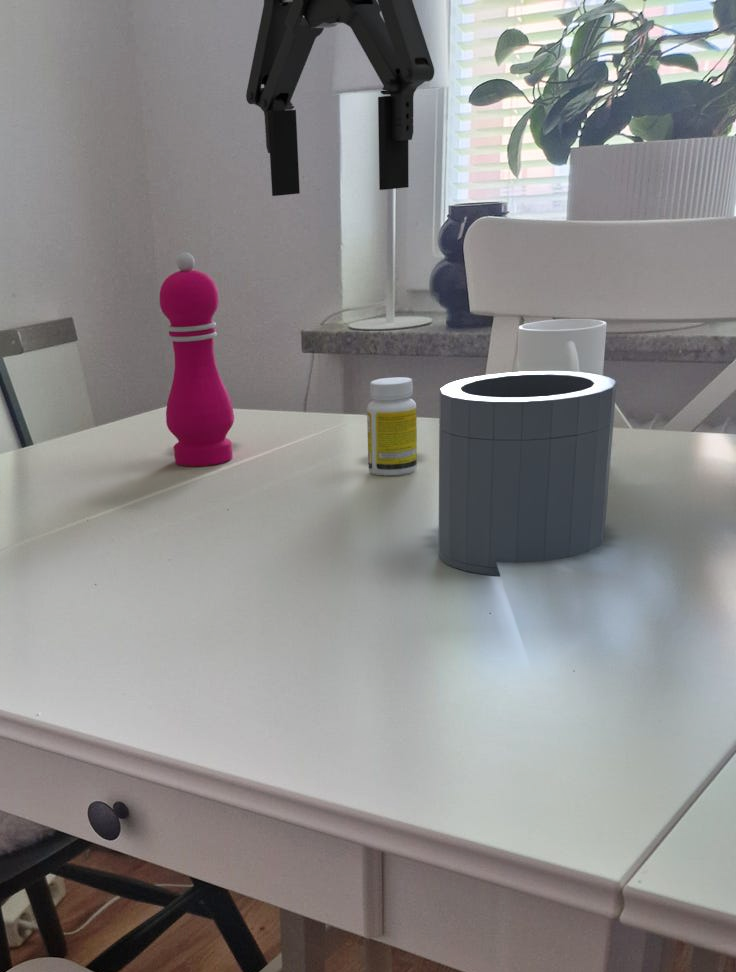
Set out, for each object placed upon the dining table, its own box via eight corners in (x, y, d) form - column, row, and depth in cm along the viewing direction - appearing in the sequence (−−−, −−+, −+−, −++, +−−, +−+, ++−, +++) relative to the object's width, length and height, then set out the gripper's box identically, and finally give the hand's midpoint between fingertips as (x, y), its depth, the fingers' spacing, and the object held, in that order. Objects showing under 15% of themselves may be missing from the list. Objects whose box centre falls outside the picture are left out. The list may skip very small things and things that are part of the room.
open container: (587, 526, 94) (599, 366, 87) (616, 572, 83) (631, 395, 77) (434, 533, 95) (435, 377, 89) (443, 580, 84) (445, 406, 78)
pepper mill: (204, 470, 121) (184, 255, 111) (156, 464, 125) (133, 256, 115) (251, 456, 125) (236, 248, 115) (203, 450, 130) (185, 249, 120)
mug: (609, 471, 108) (620, 332, 102) (516, 475, 109) (521, 338, 103) (593, 444, 118) (603, 315, 112) (508, 448, 119) (512, 321, 113)
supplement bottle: (426, 470, 114) (427, 379, 110) (389, 479, 112) (388, 386, 108) (395, 463, 118) (394, 374, 113) (358, 472, 115) (356, 382, 111)
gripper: (193, -90, 97) (215, 200, 108) (412, -164, 80) (413, 189, 91) (260, -85, 101) (276, 194, 112) (483, -155, 84) (476, 182, 95)
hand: (337, 192), depth 102 cm, fingers open, 13 cm apart
